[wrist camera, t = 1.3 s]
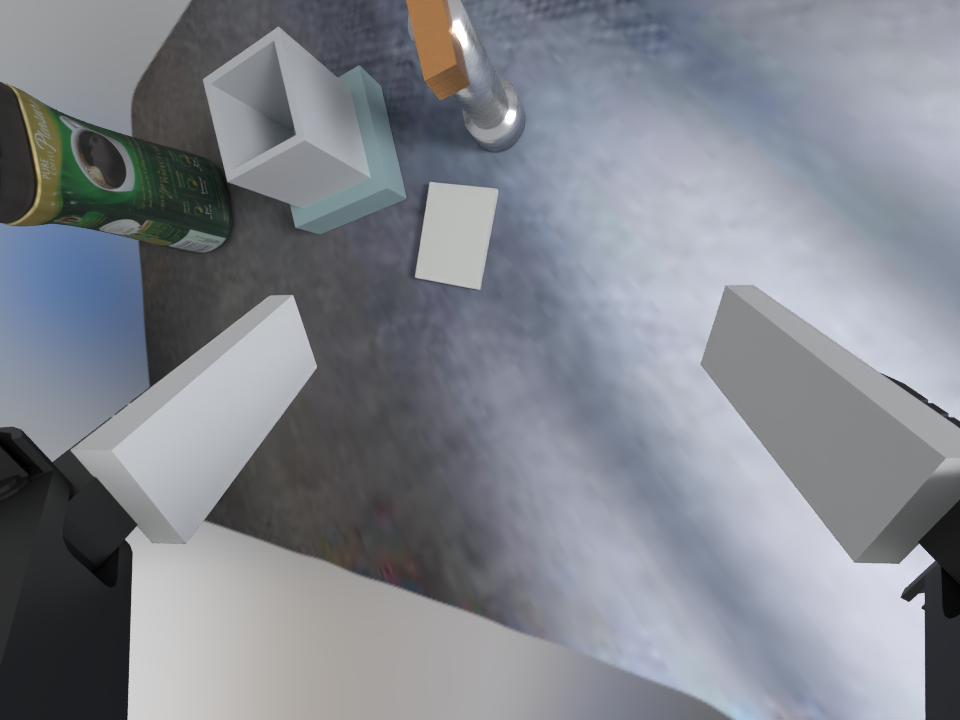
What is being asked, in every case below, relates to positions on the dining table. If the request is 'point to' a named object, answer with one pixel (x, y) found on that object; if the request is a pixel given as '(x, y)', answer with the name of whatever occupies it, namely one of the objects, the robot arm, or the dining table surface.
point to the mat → (456, 234)
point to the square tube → (304, 134)
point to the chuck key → (465, 72)
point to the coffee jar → (105, 180)
